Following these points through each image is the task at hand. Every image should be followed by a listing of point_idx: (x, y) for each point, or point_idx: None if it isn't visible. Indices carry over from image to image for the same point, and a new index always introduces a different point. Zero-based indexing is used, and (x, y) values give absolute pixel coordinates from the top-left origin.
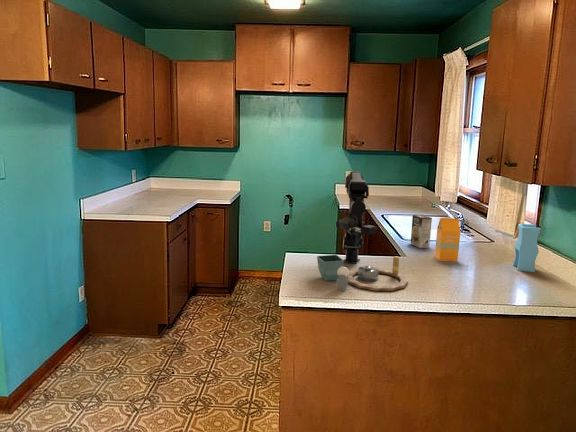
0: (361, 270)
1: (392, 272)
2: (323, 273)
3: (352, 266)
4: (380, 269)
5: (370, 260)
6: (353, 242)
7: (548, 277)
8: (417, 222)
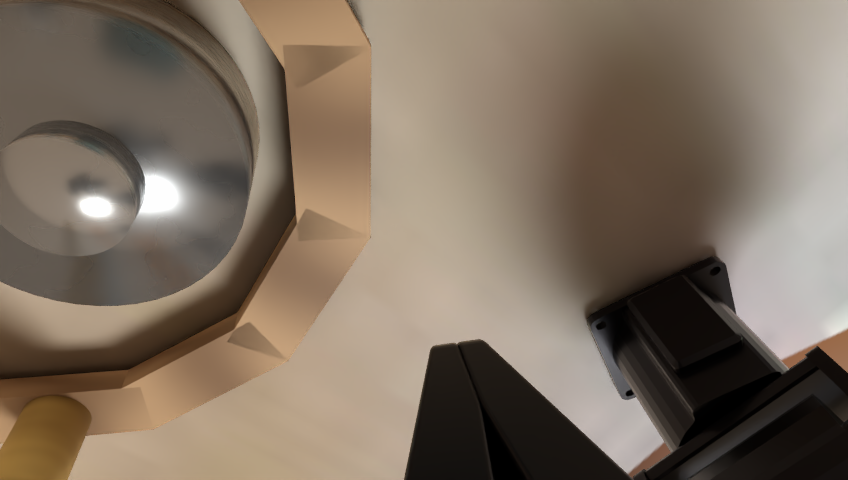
0: (56, 37)
1: (66, 405)
2: None
3: (556, 244)
4: (242, 373)
5: None
6: (500, 413)
7: None
8: None
